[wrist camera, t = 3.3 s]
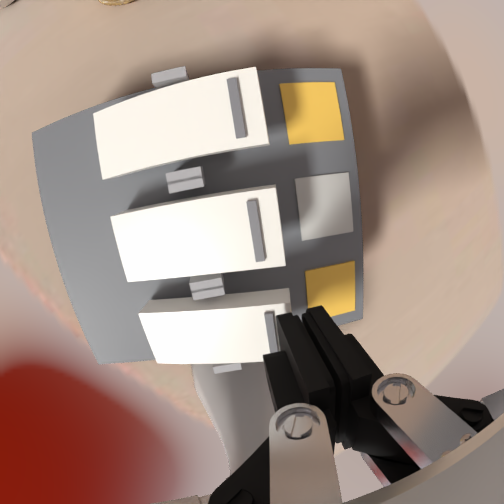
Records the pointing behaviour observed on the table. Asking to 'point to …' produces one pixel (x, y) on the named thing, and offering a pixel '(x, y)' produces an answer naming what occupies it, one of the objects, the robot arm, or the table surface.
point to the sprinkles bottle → (115, 2)
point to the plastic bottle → (5, 3)
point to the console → (202, 183)
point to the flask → (236, 407)
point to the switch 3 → (215, 327)
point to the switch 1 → (182, 123)
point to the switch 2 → (201, 235)
